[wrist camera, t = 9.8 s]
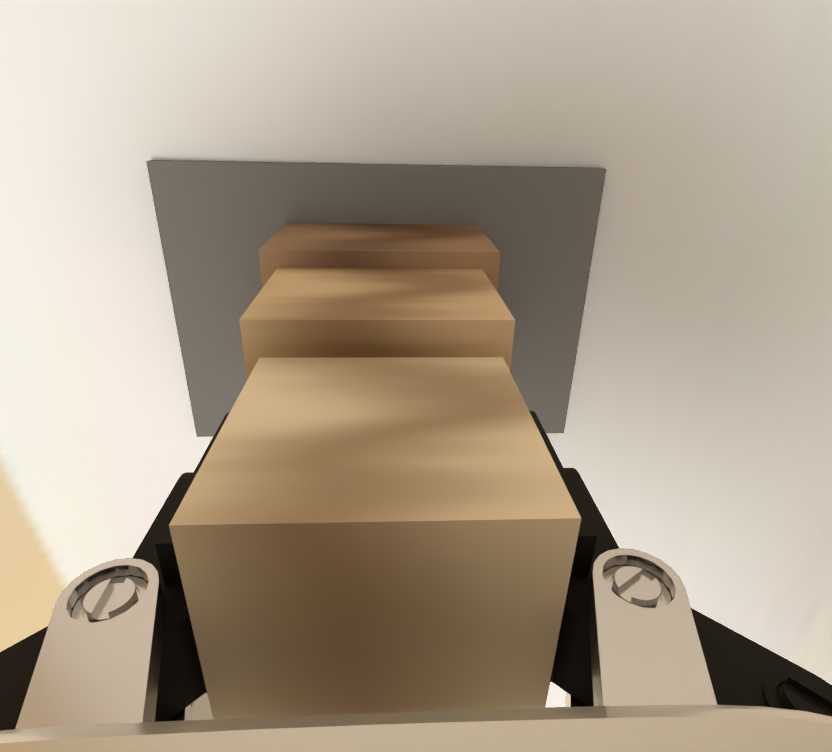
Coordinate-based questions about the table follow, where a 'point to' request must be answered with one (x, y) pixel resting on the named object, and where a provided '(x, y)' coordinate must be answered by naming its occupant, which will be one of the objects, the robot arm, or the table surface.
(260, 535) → the maple cube
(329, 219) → the slate mat
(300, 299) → the oak block
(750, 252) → the table surface
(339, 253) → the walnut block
